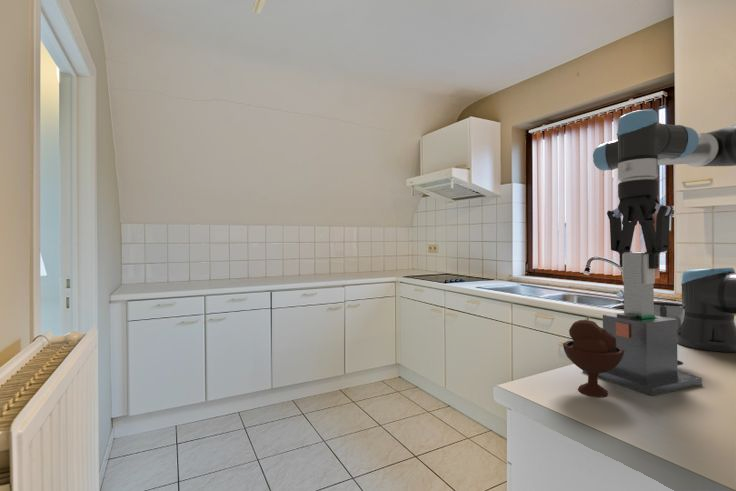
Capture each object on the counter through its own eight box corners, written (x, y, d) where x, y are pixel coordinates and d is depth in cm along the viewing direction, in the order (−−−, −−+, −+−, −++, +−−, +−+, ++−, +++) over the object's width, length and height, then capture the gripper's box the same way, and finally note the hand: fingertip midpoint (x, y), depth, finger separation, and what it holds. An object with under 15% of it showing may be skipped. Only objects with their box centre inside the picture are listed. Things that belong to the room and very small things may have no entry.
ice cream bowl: (604, 407, 72) (604, 328, 72) (552, 387, 82) (551, 318, 82) (636, 396, 77) (635, 322, 77) (582, 378, 86) (582, 313, 86)
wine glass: (692, 366, 94) (692, 306, 94) (656, 364, 96) (656, 305, 96) (673, 356, 102) (673, 301, 102) (640, 355, 104) (640, 301, 104)
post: (635, 341, 90) (635, 252, 89) (655, 345, 86) (654, 252, 85) (623, 343, 88) (622, 252, 88) (642, 348, 84) (641, 252, 84)
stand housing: (628, 363, 97) (628, 305, 97) (701, 385, 82) (701, 317, 82) (582, 371, 92) (582, 310, 92) (652, 396, 77) (651, 323, 77)
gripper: (591, 185, 93) (592, 280, 93) (667, 173, 77) (668, 287, 77) (613, 186, 96) (614, 278, 96) (690, 175, 80) (691, 285, 80)
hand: (638, 282), depth 87 cm, fingers closed on post, 4 cm apart
